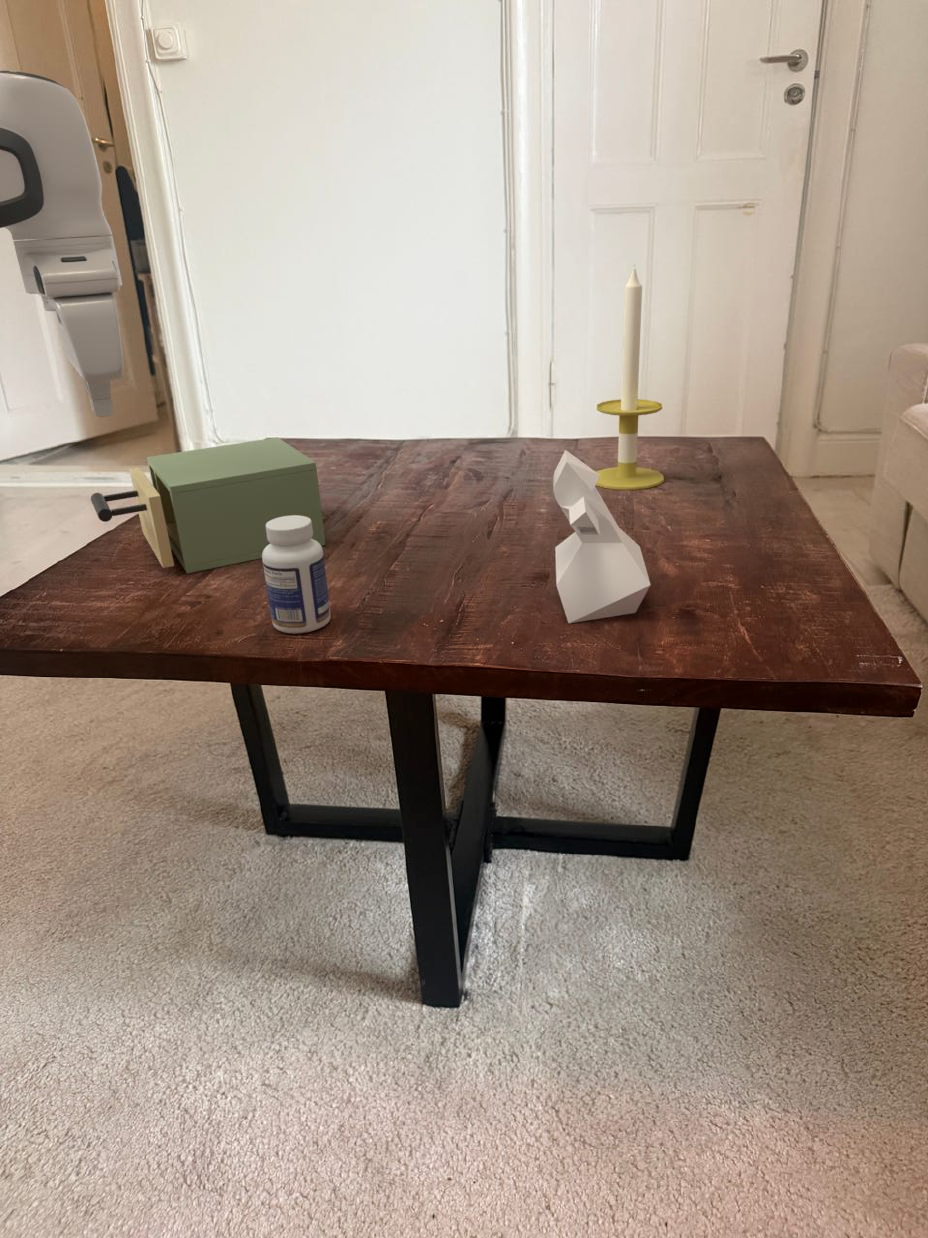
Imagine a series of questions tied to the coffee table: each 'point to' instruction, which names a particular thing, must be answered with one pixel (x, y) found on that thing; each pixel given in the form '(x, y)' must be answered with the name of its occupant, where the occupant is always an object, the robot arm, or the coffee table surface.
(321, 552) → the pill bottle
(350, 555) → the coffee table surface
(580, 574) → the faceted knight figurine
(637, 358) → the candle
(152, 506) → the drawer
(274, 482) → the cabinet
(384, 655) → the coffee table surface
